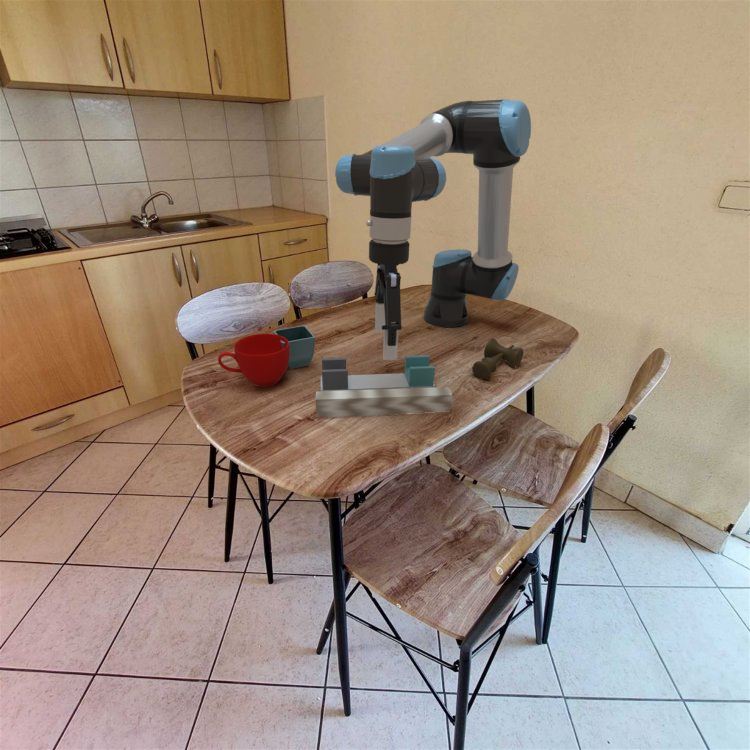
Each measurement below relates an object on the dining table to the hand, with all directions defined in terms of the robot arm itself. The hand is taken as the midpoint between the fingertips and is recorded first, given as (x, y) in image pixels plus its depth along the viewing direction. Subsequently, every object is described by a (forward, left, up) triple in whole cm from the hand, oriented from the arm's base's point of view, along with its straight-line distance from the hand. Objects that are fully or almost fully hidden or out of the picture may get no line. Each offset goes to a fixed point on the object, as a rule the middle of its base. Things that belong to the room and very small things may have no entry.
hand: (385, 344), depth 91 cm
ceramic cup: (+30, -16, -17) cm, 37 cm away
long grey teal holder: (0, -12, -16) cm, 20 cm away
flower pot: (+20, -25, -17) cm, 36 cm away
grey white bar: (0, 0, -17) cm, 17 cm away
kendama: (-34, -20, -17) cm, 43 cm away
